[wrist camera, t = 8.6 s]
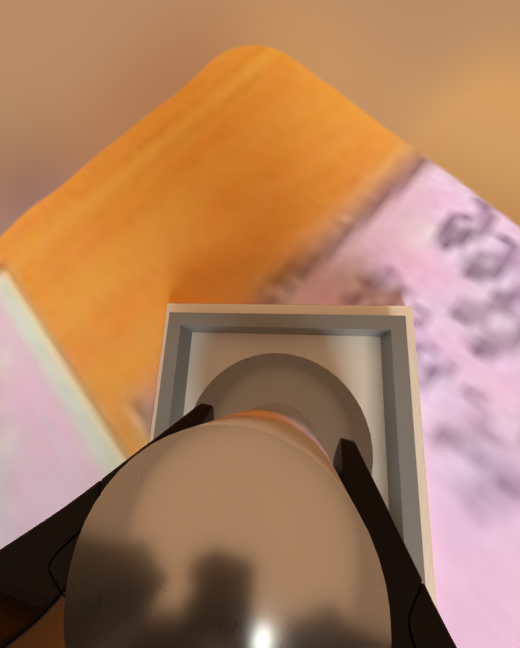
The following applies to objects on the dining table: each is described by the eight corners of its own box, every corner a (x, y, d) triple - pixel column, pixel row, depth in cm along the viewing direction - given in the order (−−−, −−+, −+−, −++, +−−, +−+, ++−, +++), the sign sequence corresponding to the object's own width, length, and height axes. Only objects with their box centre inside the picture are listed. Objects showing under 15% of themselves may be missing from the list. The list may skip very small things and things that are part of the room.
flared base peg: (230, 570, 14) (-101, 1477, 2) (173, 395, 16) (-128, 397, 5) (399, 495, 14) (961, 1035, 2) (316, 331, 16) (372, 171, 5)
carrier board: (141, 565, 17) (109, 600, 14) (173, 307, 20) (153, 293, 18) (428, 603, 15) (460, 655, 12) (406, 310, 18) (426, 295, 16)
